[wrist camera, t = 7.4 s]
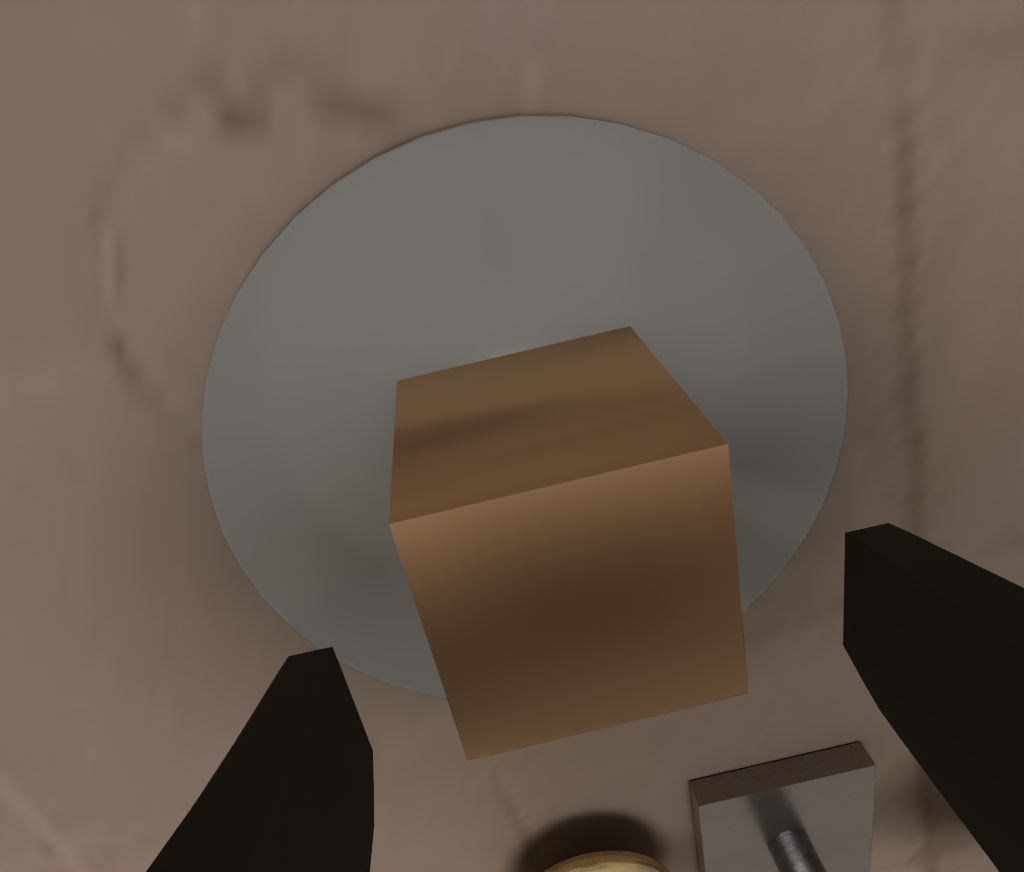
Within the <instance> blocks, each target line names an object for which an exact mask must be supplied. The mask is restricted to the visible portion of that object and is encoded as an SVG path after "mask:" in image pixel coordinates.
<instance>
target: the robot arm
mask: <svg viewBox="0 0 1024 872" xmlns="http://www.w3.org/2000/svg"><path fill="white" fill-rule="evenodd" d="M843 646H844V647H845V649H846V651H847V653H848V655H849V656H850V658H851V660H852V662H853V664H854V666H855V667H856V669H857V671H858V673H859V675H860V677H861V678H862V680H863V682H864V684H865V685H866V687H867V689H868V691H869V692H870V694H871V696H872V697H873V699H874V701H875V702H876V704H877V706H878V708H879V709H880V711H881V712H882V714H883V715H884V716H885V718H886V719H887V721H888V722H889V723H890V725H891V726H892V728H893V729H894V730H895V732H896V733H897V734H898V736H899V737H900V739H901V740H902V741H903V743H904V744H905V745H906V747H907V748H908V749H909V751H910V752H911V754H912V755H913V756H914V758H915V759H916V760H917V762H918V763H919V764H920V766H921V767H922V768H923V770H924V771H925V772H926V774H927V775H928V776H929V778H930V779H931V780H932V782H933V783H934V785H935V786H936V787H937V789H938V790H939V791H940V793H941V794H942V795H943V797H944V798H945V799H946V801H947V802H948V803H949V805H950V806H951V807H952V809H953V810H954V811H955V813H956V814H957V815H958V817H959V818H960V819H961V821H962V822H963V823H964V825H965V826H966V827H967V829H968V830H969V831H970V833H971V834H972V835H973V837H974V838H975V839H976V841H977V842H978V844H979V845H980V846H981V848H982V849H983V850H984V852H985V853H986V854H987V856H988V857H989V858H990V860H991V861H992V862H993V864H994V865H995V867H996V868H997V869H998V871H999V872H1024V588H1023V587H1021V586H1018V585H1016V584H1014V583H1012V582H1010V581H1008V580H1006V579H1004V578H1002V577H1000V576H998V575H996V574H994V573H991V572H989V571H987V570H985V569H983V568H981V567H979V566H977V565H975V564H973V563H971V562H969V561H967V560H965V559H963V558H961V557H959V556H957V555H955V554H953V553H951V552H949V551H947V550H945V549H942V548H940V547H938V546H936V545H934V544H932V543H930V542H928V541H926V540H924V539H922V538H920V537H918V536H916V535H913V534H911V533H909V532H907V531H905V530H903V529H900V528H898V527H896V526H894V525H891V524H889V523H887V524H883V525H878V526H874V527H869V528H865V529H860V530H856V531H851V532H847V533H845V574H844V627H843ZM373 831H374V780H373V750H372V747H371V745H370V742H369V740H368V737H367V734H366V732H365V729H364V727H363V724H362V722H361V719H360V716H359V714H358V711H357V709H356V706H355V703H354V701H353V698H352V696H351V693H350V690H349V688H348V685H347V683H346V680H345V678H344V675H343V672H342V670H341V667H340V665H339V662H338V659H337V657H336V654H335V652H334V649H333V647H329V648H324V649H320V650H315V651H311V652H306V653H302V654H297V655H293V656H289V657H288V658H287V660H286V661H285V663H284V664H283V666H282V667H281V669H280V670H279V672H278V674H277V675H276V677H275V678H274V680H273V681H272V683H271V685H270V686H269V688H268V690H267V691H266V693H265V694H264V696H263V698H262V699H261V701H260V703H259V704H258V706H257V707H256V709H255V711H254V712H253V714H252V715H251V717H250V719H249V720H248V722H247V724H246V725H245V727H244V728H243V730H242V731H241V733H240V735H239V736H238V738H237V739H236V741H235V743H234V744H233V746H232V747H231V749H230V750H229V752H228V754H227V755H226V757H225V758H224V760H223V761H222V763H221V764H220V766H219V767H218V769H217V770H216V772H215V773H214V775H213V776H212V778H211V780H210V781H209V783H208V784H207V786H206V787H205V789H204V790H203V792H202V793H201V795H200V796H199V798H198V799H197V801H196V802H195V804H194V805H193V807H192V808H191V810H190V811H189V812H188V814H187V815H186V817H185V818H184V819H183V821H182V822H181V824H180V825H179V826H178V828H177V829H176V831H175V832H174V833H173V835H172V836H171V838H170V839H169V840H168V842H167V843H166V845H165V846H164V847H163V849H162V850H161V852H160V853H159V854H158V856H157V857H156V859H155V860H154V861H153V863H152V864H151V866H150V867H149V868H148V870H147V871H146V872H370V864H371V853H372V842H373Z"/></svg>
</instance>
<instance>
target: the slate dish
mask: <svg viewBox="0 0 1024 872" xmlns="http://www.w3.org/2000/svg"><path fill="white" fill-rule="evenodd" d="M628 326H630V327H631V328H632V329H633V330H634V332H635V333H636V334H637V335H638V336H639V338H640V339H641V340H642V341H643V342H644V344H645V345H646V346H647V347H648V348H649V350H650V351H651V352H652V353H653V354H654V356H655V357H656V358H657V359H658V360H659V362H660V363H661V364H662V365H663V366H664V367H665V369H666V370H667V371H668V372H669V373H670V375H671V376H672V377H673V378H674V379H675V381H676V382H677V383H678V384H679V385H680V387H681V388H682V389H683V390H684V391H685V393H686V394H687V395H688V396H689V397H690V399H691V400H692V401H693V402H694V403H695V405H696V406H697V407H698V408H699V409H700V411H701V412H702V413H703V414H704V415H705V417H706V418H707V419H708V420H709V421H710V423H711V424H712V425H713V426H714V427H715V429H716V430H717V431H718V432H719V433H720V435H721V436H722V437H723V438H724V439H725V441H726V442H727V443H728V448H729V460H730V473H731V485H732V497H733V510H734V522H735V535H736V547H737V560H738V572H739V585H740V597H741V610H742V613H743V612H744V611H745V610H746V609H747V608H748V607H749V606H750V605H751V604H752V603H753V602H754V601H756V600H757V599H758V598H759V597H760V596H761V595H762V594H763V593H764V592H765V591H766V590H767V588H768V587H769V586H770V585H771V584H772V582H773V581H774V580H775V579H776V578H777V577H778V575H779V574H780V573H781V572H782V571H783V569H784V568H785V567H786V566H787V565H788V563H789V562H790V560H791V559H792V557H793V556H794V554H795V553H796V551H797V550H798V548H799V547H800V545H801V544H802V542H803V541H804V539H805V538H806V536H807V535H808V533H809V531H810V529H811V527H812V525H813V523H814V521H815V519H816V517H817V515H818V513H819V511H820V509H821V508H822V506H823V504H824V501H825V499H826V496H827V493H828V490H829V488H830V485H831V482H832V480H833V477H834V474H835V471H836V469H837V465H838V460H839V456H840V451H841V447H842V442H843V438H844V434H845V424H846V413H847V402H848V384H847V364H846V355H845V350H844V344H843V339H842V334H841V329H840V324H839V320H838V317H837V314H836V311H835V309H834V306H833V303H832V300H831V298H830V295H829V292H828V289H827V287H826V284H825V282H824V280H823V278H822V276H821V275H820V273H819V271H818V269H817V267H816V265H815V264H814V262H813V260H812V258H811V256H810V254H809V253H808V251H807V249H806V247H805V246H804V245H803V243H802V242H801V241H800V240H799V238H798V237H797V236H796V234H795V233H794V232H793V230H792V229H791V228H790V227H789V225H788V224H787V223H786V221H785V220H784V219H783V218H782V216H781V215H780V214H779V213H778V212H777V211H776V210H775V209H774V208H773V207H772V206H771V205H770V204H768V203H767V202H766V201H765V200H764V199H763V198H762V197H761V196H760V195H759V194H758V193H757V192H756V191H755V190H754V189H753V188H752V187H751V186H749V185H748V184H747V183H745V182H744V181H742V180H741V179H740V178H738V177H737V176H735V175H734V174H732V173H731V172H729V171H728V170H726V169H725V168H724V167H722V166H721V165H719V164H718V163H716V162H715V161H713V160H712V159H710V158H708V157H706V156H704V155H702V154H700V153H697V152H695V151H693V150H691V149H689V148H687V147H685V146H683V145H681V144H679V143H677V142H675V141H673V140H670V139H668V138H665V137H661V136H658V135H655V134H652V133H648V132H645V131H642V130H639V129H635V128H632V127H629V126H626V125H622V124H618V123H614V122H610V121H603V120H596V119H590V118H583V117H577V116H570V115H520V114H517V115H510V116H503V117H495V118H488V119H481V120H474V121H468V122H464V123H461V124H457V125H454V126H450V127H447V128H443V129H440V130H436V131H433V132H429V133H426V134H422V135H420V136H418V137H415V138H413V139H411V140H409V141H407V142H404V143H402V144H400V145H398V146H395V147H393V148H391V149H389V150H386V151H384V152H382V153H380V154H377V155H376V156H374V157H373V158H371V159H369V160H368V161H366V162H365V163H363V164H362V165H360V166H358V167H357V168H355V169H354V170H352V171H350V172H349V173H347V174H346V175H344V176H342V177H341V178H339V179H338V180H336V181H335V182H334V183H333V184H332V185H330V186H329V187H328V188H327V189H326V190H324V191H323V192H322V193H321V194H320V195H319V196H317V197H316V198H315V199H314V200H313V201H312V202H310V203H309V204H308V205H307V206H306V207H304V208H303V209H302V210H301V211H300V212H299V213H298V214H297V215H296V217H295V218H294V219H293V220H292V221H291V222H290V223H289V225H288V226H287V227H286V228H285V229H284V230H283V231H282V233H281V234H280V235H279V236H278V237H277V238H276V239H275V240H274V242H273V243H272V244H271V245H270V246H269V247H268V249H267V250H266V251H265V252H264V254H263V255H262V256H261V258H260V259H259V261H258V262H257V264H256V265H255V267H254V269H253V270H252V272H251V273H250V275H249V276H248V278H247V279H246V281H245V282H244V284H243V286H242V287H241V289H240V290H239V292H238V293H237V295H236V297H235V299H234V302H233V304H232V306H231V308H230V311H229V313H228V315H227V317H226V319H225V322H224V324H223V326H222V328H221V330H220V333H219V335H218V338H217V342H216V345H215V349H214V352H213V356H212V360H211V363H210V367H209V370H208V374H207V378H206V386H205V394H204V403H203V411H202V446H203V462H204V467H205V473H206V478H207V483H208V489H209V494H210V499H211V501H212V504H213V507H214V510H215V513H216V516H217V519H218V521H219V524H220V527H221V530H222V533H223V535H224V537H225V539H226V541H227V543H228V545H229V546H230V548H231V550H232V552H233V554H234V556H235V558H236V560H237V562H238V564H239V566H240V567H241V569H242V570H243V571H244V573H245V574H246V576H247V577H248V578H249V580H250V581H251V583H252V584H253V585H254V587H255V588H256V590H257V591H258V592H259V594H260V595H261V597H262V598H263V599H264V600H265V601H266V602H267V603H268V604H269V605H270V606H271V607H272V608H273V609H274V610H275V611H276V612H277V613H278V615H279V616H280V617H281V618H282V619H283V620H284V621H285V622H286V623H287V624H288V625H290V626H291V627H292V628H293V629H295V630H296V631H297V632H298V633H299V634H301V635H302V636H303V637H304V638H306V639H307V640H308V641H309V642H310V643H312V644H313V645H314V646H316V647H317V648H319V649H324V648H329V647H333V649H334V652H335V654H336V657H337V659H338V661H340V662H341V663H343V664H345V665H347V666H349V667H351V668H353V669H355V670H357V671H359V672H361V673H363V674H366V675H368V676H370V677H372V678H374V679H376V680H379V681H382V682H385V683H388V684H391V685H393V686H396V687H399V688H402V689H405V690H408V691H412V692H416V693H420V694H425V695H429V696H434V697H438V698H442V699H447V697H446V694H445V691H444V688H443V685H442V682H441V679H440V676H439V673H438V670H437V667H436V664H435V661H434V658H433V655H432V652H431V649H430V646H429V643H428V640H427V637H426V634H425V631H424V628H423V625H422V622H421V619H420V616H419V613H418V610H417V607H416V604H415V601H414V598H413V595H412V592H411V589H410V586H409V583H408V580H407V577H406V574H405V571H404V568H403V565H402V562H401V559H400V556H399V553H398V550H397V547H396V544H395V541H394V538H393V535H392V532H391V529H390V526H389V513H390V496H391V479H392V462H393V445H394V428H395V411H396V394H397V381H398V380H402V379H406V378H410V377H415V376H419V375H423V374H427V373H432V372H436V371H440V370H444V369H449V368H453V367H457V366H462V365H466V364H470V363H474V362H479V361H483V360H487V359H491V358H496V357H500V356H504V355H508V354H513V353H517V352H521V351H526V350H530V349H534V348H538V347H543V346H547V345H551V344H555V343H560V342H564V341H568V340H572V339H577V338H581V337H585V336H590V335H594V334H598V333H602V332H607V331H611V330H615V329H619V328H624V327H628Z"/></svg>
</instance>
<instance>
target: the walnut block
mask: <svg viewBox="0 0 1024 872" xmlns="http://www.w3.org/2000/svg"><path fill="white" fill-rule="evenodd" d="M389 526H390V529H391V532H392V535H393V538H394V541H395V544H396V547H397V550H398V553H399V556H400V559H401V562H402V565H403V568H404V571H405V574H406V577H407V580H408V583H409V586H410V589H411V592H412V595H413V598H414V601H415V604H416V607H417V610H418V613H419V616H420V619H421V622H422V625H423V628H424V631H425V634H426V637H427V640H428V643H429V646H430V649H431V652H432V655H433V658H434V661H435V664H436V667H437V670H438V673H439V676H440V679H441V682H442V685H443V688H444V691H445V694H446V697H447V700H448V703H449V706H450V709H451V712H452V715H453V718H454V721H455V724H456V727H457V730H458V733H459V736H460V739H461V742H462V745H463V748H464V751H465V754H466V757H467V760H468V761H469V760H473V759H477V758H481V757H485V756H489V755H494V754H498V753H502V752H506V751H510V750H514V749H518V748H523V747H527V746H531V745H535V744H539V743H543V742H547V741H552V740H556V739H560V738H564V737H568V736H572V735H577V734H581V733H585V732H589V731H593V730H597V729H601V728H606V727H610V726H614V725H618V724H622V723H626V722H630V721H635V720H639V719H643V718H647V717H651V716H655V715H659V714H664V713H668V712H672V711H676V710H680V709H684V708H688V707H693V706H697V705H701V704H705V703H709V702H713V701H718V700H722V699H726V698H730V697H734V696H738V695H742V694H747V693H748V684H747V672H746V659H745V647H744V634H743V622H742V610H741V597H740V585H739V572H738V560H737V547H736V535H735V522H734V510H733V497H732V485H731V473H730V460H729V448H728V443H727V442H726V441H725V439H724V438H723V437H722V436H721V435H720V433H719V432H718V431H717V430H716V429H715V427H714V426H713V425H712V424H711V423H710V421H709V420H708V419H707V418H706V417H705V415H704V414H703V413H702V412H701V411H700V409H699V408H698V407H697V406H696V405H695V403H694V402H693V401H692V400H691V399H690V397H689V396H688V395H687V394H686V393H685V391H684V390H683V389H682V388H681V387H680V385H679V384H678V383H677V382H676V381H675V379H674V378H673V377H672V376H671V375H670V373H669V372H668V371H667V370H666V369H665V367H664V366H663V365H662V364H661V363H660V362H659V360H658V359H657V358H656V357H655V356H654V354H653V353H652V352H651V351H650V350H649V348H648V347H647V346H646V345H645V344H644V342H643V341H642V340H641V339H640V338H639V336H638V335H637V334H636V333H635V332H634V330H633V329H632V328H631V327H630V326H628V327H624V328H619V329H615V330H611V331H607V332H602V333H598V334H594V335H590V336H585V337H581V338H577V339H572V340H568V341H564V342H560V343H555V344H551V345H547V346H543V347H538V348H534V349H530V350H526V351H521V352H517V353H513V354H508V355H504V356H500V357H496V358H491V359H487V360H483V361H479V362H474V363H470V364H466V365H462V366H457V367H453V368H449V369H444V370H440V371H436V372H432V373H427V374H423V375H419V376H415V377H410V378H406V379H402V380H398V381H397V394H396V411H395V428H394V445H393V462H392V479H391V496H390V513H389Z"/></svg>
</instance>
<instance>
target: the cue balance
mask: <svg viewBox="0 0 1024 872" xmlns="http://www.w3.org/2000/svg"><path fill="white" fill-rule="evenodd" d="M875 771H876V765H875V763H874V762H873V760H872V759H871V757H870V756H869V754H868V753H867V751H866V750H865V748H864V747H863V745H862V744H861V742H858V743H853V744H849V745H845V746H840V747H836V748H832V749H828V750H823V751H819V752H815V753H810V754H806V755H802V756H797V757H793V758H789V759H784V760H780V761H776V762H771V763H767V764H763V765H758V766H754V767H750V768H746V769H741V770H737V771H733V772H728V773H724V774H720V775H715V776H711V777H707V778H702V779H698V780H694V781H689V787H690V796H691V804H692V813H693V822H694V831H695V839H696V848H697V857H698V865H699V872H870V869H871V849H872V830H873V810H874V791H875ZM544 872H669V871H668V870H667V868H666V867H664V866H663V865H662V864H661V863H659V862H658V861H656V860H655V859H652V858H650V857H648V856H645V855H642V854H639V853H634V852H628V851H599V852H592V853H587V854H583V855H579V856H576V857H572V858H570V859H567V860H564V861H562V862H560V863H558V864H556V865H554V866H552V867H550V868H549V869H547V870H545V871H544Z"/></svg>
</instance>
